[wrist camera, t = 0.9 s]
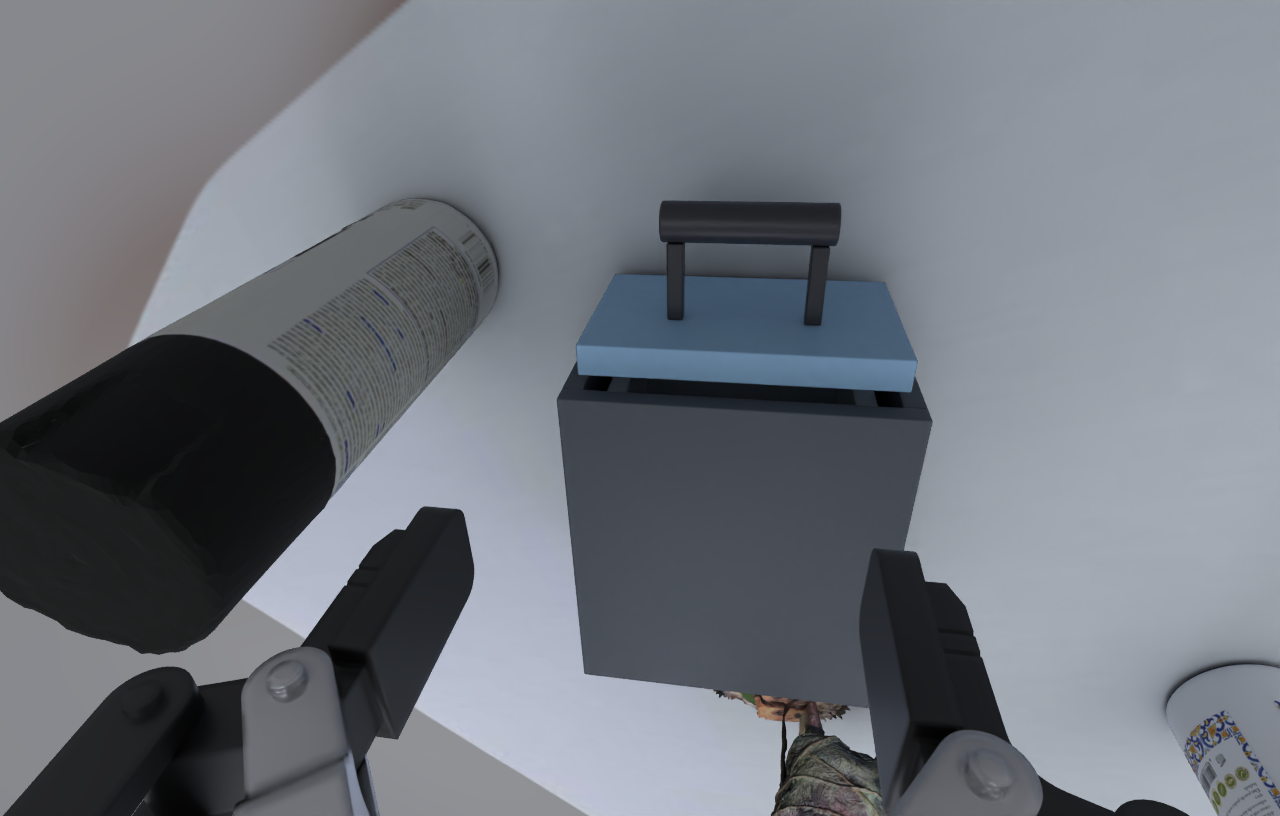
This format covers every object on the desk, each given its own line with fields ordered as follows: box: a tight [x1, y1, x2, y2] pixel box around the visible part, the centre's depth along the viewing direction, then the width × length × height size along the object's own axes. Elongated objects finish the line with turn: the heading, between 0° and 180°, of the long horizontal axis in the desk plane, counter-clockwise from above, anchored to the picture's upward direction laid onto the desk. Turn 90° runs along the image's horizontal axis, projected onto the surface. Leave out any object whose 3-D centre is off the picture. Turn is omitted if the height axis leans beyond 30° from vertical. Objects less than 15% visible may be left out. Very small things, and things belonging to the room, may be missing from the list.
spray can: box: [0, 199, 498, 655], centre depth 24 cm, size 7×7×20 cm
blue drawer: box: [576, 201, 917, 406], centre depth 29 cm, size 18×11×7 cm, turn 1°
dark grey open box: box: [557, 362, 932, 708], centre depth 31 cm, size 15×13×9 cm
